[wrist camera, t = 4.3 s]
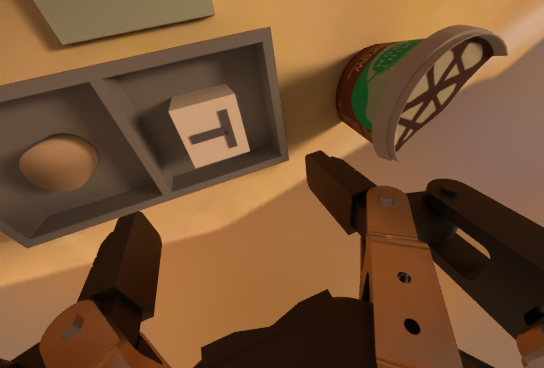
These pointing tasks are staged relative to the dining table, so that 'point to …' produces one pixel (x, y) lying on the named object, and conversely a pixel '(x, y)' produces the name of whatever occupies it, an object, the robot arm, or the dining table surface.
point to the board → (116, 16)
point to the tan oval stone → (60, 162)
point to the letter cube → (209, 124)
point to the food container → (409, 83)
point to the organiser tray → (133, 132)
